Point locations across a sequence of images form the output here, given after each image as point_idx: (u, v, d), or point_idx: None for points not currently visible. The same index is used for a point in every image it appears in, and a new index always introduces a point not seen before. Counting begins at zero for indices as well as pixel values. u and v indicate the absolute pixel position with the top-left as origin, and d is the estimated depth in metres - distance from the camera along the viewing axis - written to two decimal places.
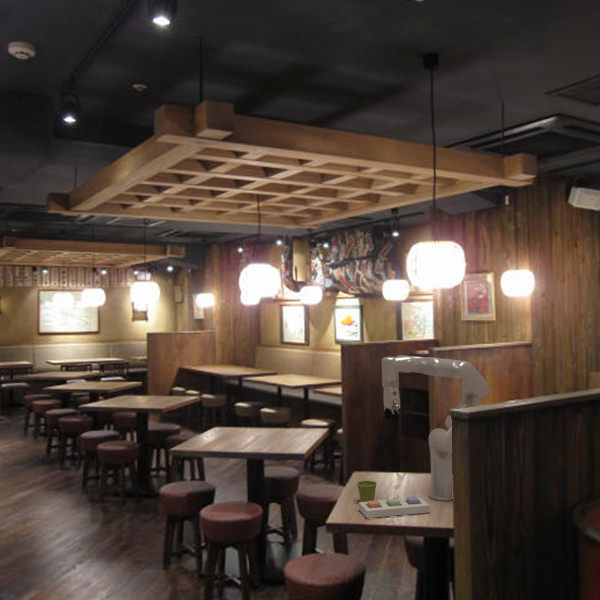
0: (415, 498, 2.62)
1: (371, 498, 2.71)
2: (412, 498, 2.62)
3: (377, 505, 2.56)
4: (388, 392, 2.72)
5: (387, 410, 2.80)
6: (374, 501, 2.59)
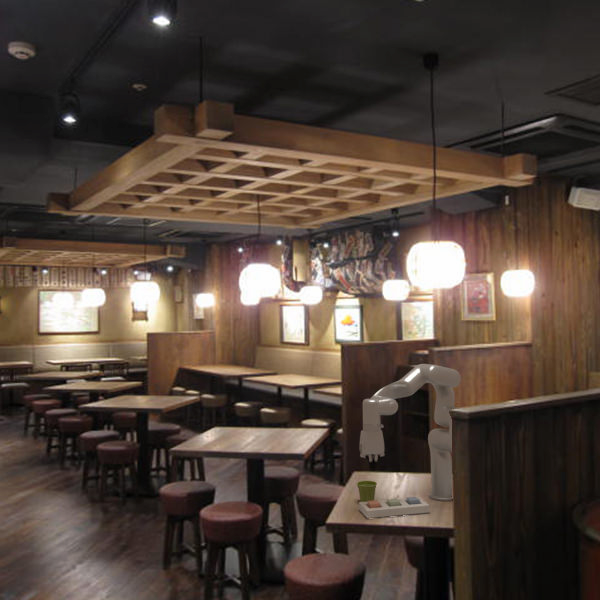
0: (415, 498, 2.62)
1: (371, 498, 2.71)
2: (412, 498, 2.62)
3: (377, 505, 2.56)
4: (380, 436, 2.57)
5: None
6: (374, 501, 2.59)
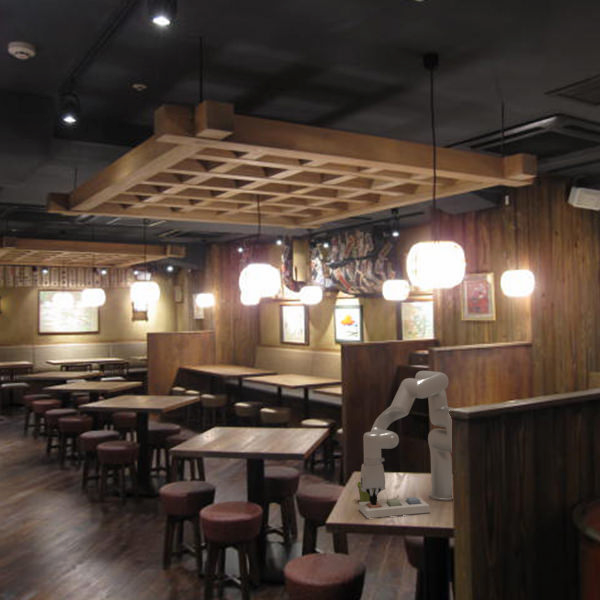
0: (415, 498, 2.62)
1: None
2: (412, 498, 2.62)
3: (377, 507, 2.56)
4: (381, 470, 2.57)
5: None
6: None
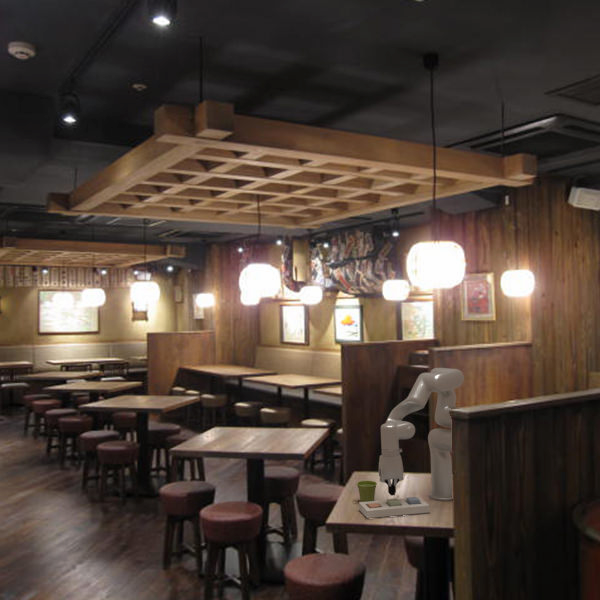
0: (415, 498, 2.62)
1: (371, 498, 2.71)
2: (412, 498, 2.62)
3: None
4: (399, 460, 2.59)
5: None
6: (374, 504, 2.59)
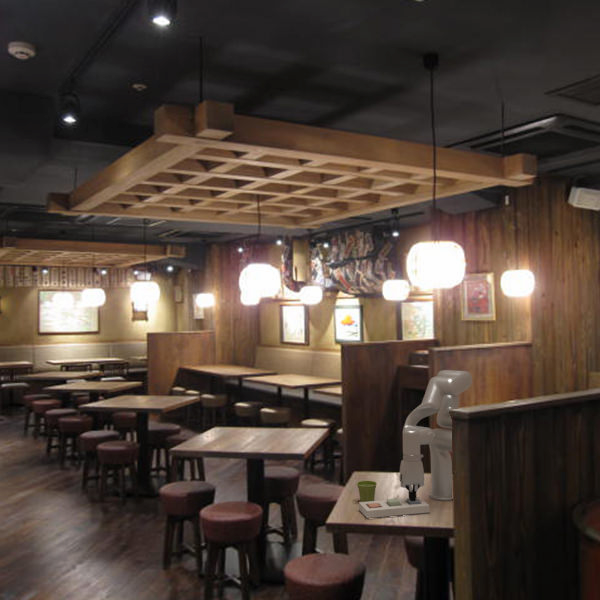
0: None
1: (371, 498, 2.71)
2: None
3: None
4: (420, 466, 2.60)
5: None
6: (374, 504, 2.59)
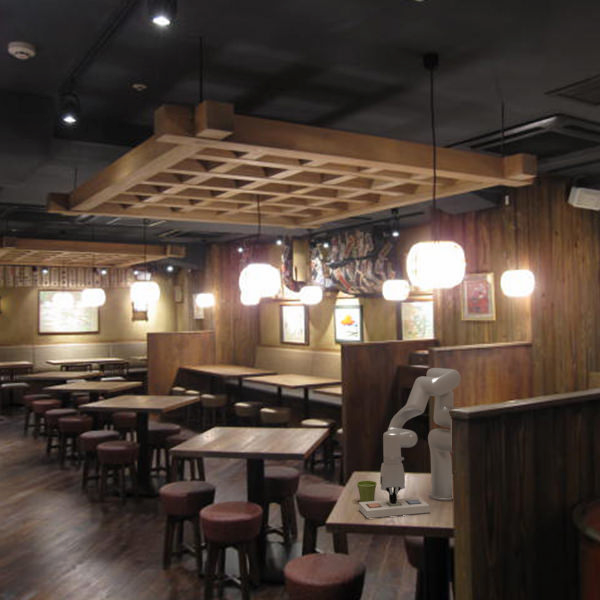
0: (415, 501, 2.62)
1: (371, 498, 2.71)
2: (412, 501, 2.62)
3: None
4: (401, 469, 2.59)
5: None
6: (374, 504, 2.59)
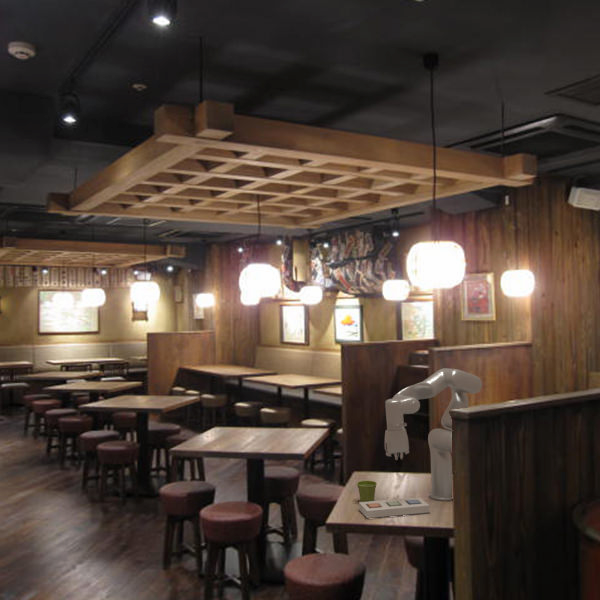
0: (415, 501, 2.62)
1: (371, 498, 2.71)
2: (412, 501, 2.62)
3: None
4: (404, 434, 2.65)
5: None
6: (374, 504, 2.59)
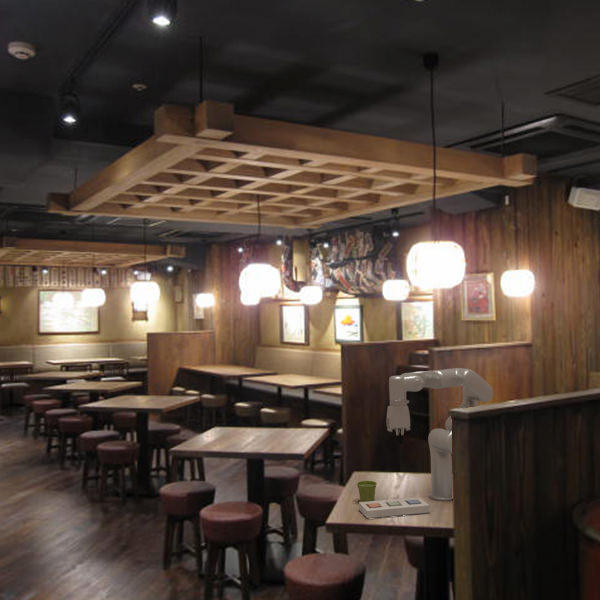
0: (415, 501, 2.62)
1: (371, 498, 2.71)
2: (412, 501, 2.62)
3: None
4: (406, 411, 2.71)
5: None
6: (374, 504, 2.59)
